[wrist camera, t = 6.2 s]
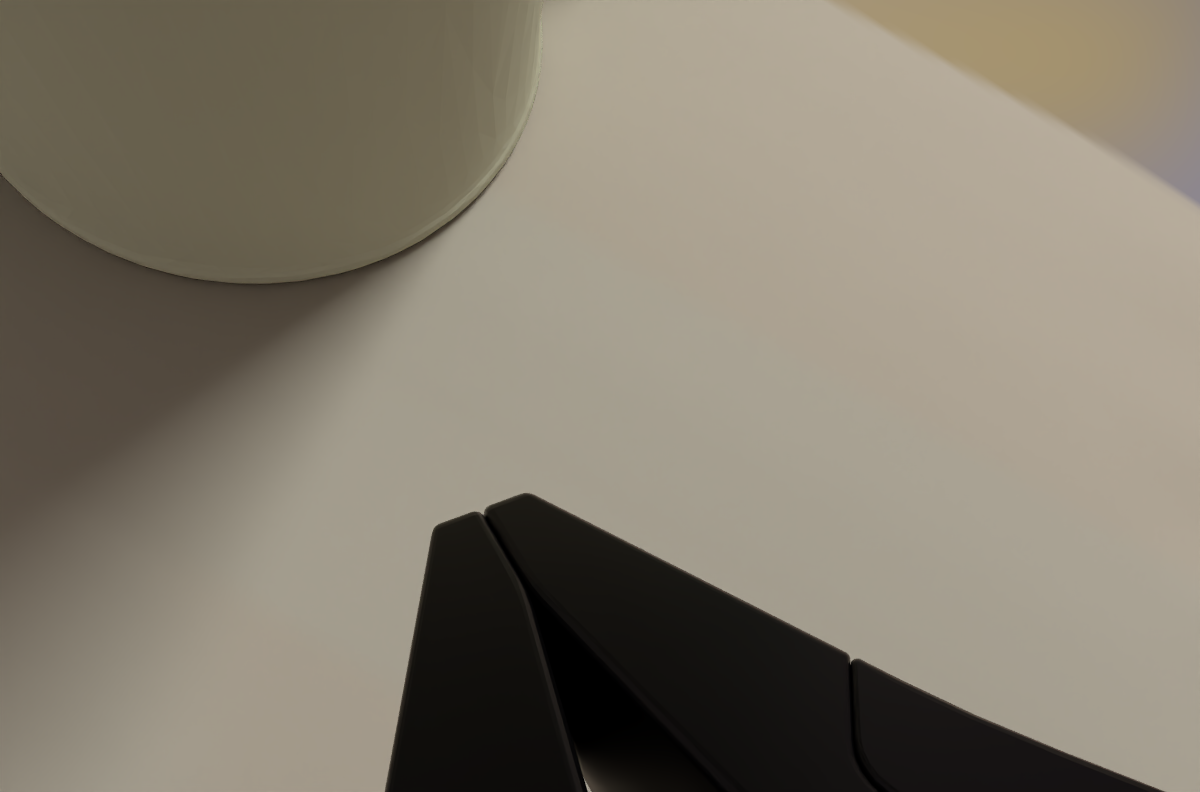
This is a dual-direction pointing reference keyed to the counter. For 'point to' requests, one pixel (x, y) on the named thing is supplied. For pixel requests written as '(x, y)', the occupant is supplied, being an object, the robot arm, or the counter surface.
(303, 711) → the counter surface
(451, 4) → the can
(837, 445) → the counter surface
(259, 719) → the counter surface
